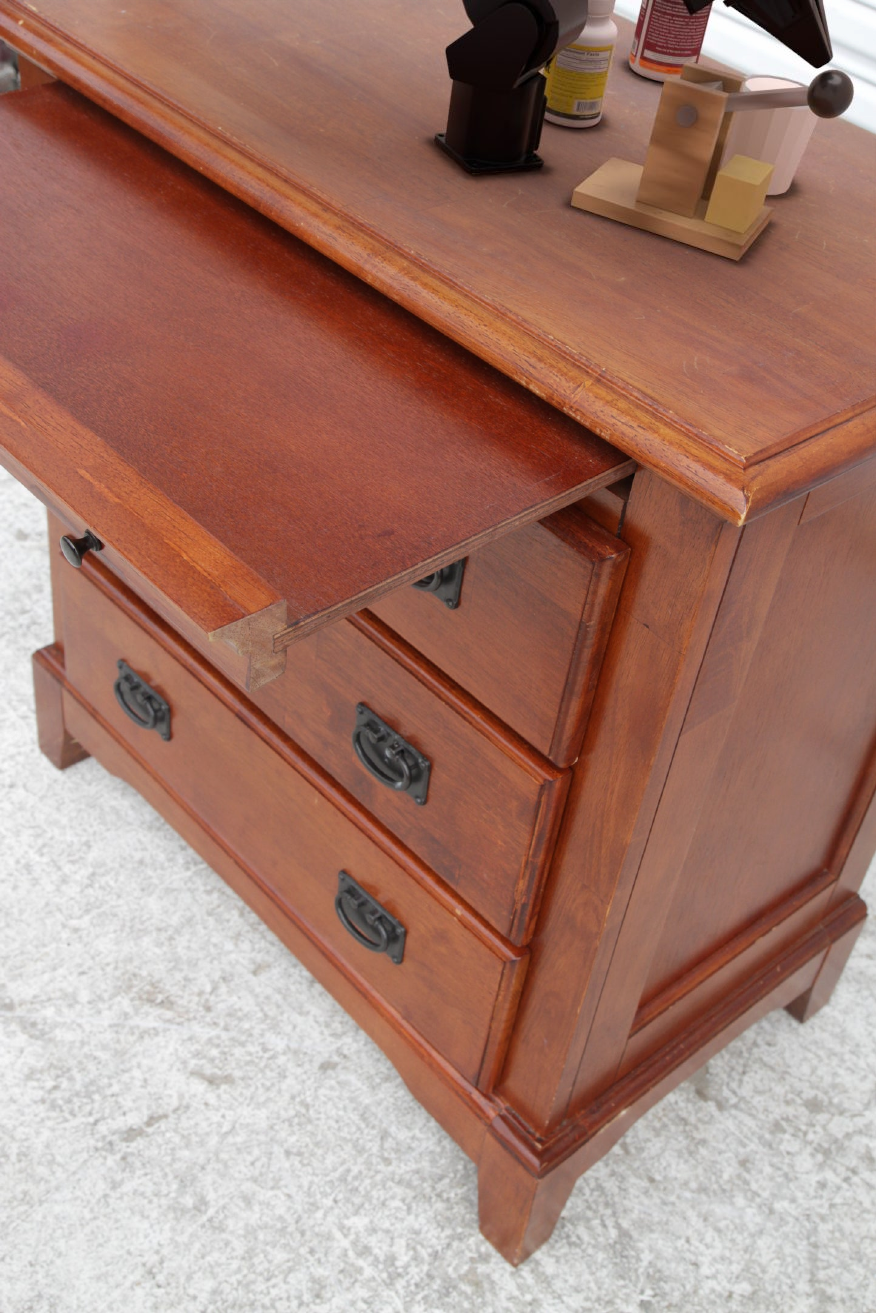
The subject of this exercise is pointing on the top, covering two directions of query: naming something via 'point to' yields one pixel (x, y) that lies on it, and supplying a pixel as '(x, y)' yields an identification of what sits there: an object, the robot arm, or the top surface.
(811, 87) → the lever
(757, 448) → the top surface
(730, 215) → the butter
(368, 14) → the top surface
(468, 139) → the robot arm
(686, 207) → the butter cutter
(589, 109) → the supplement bottle
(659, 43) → the pill bottle
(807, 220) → the top surface
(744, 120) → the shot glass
